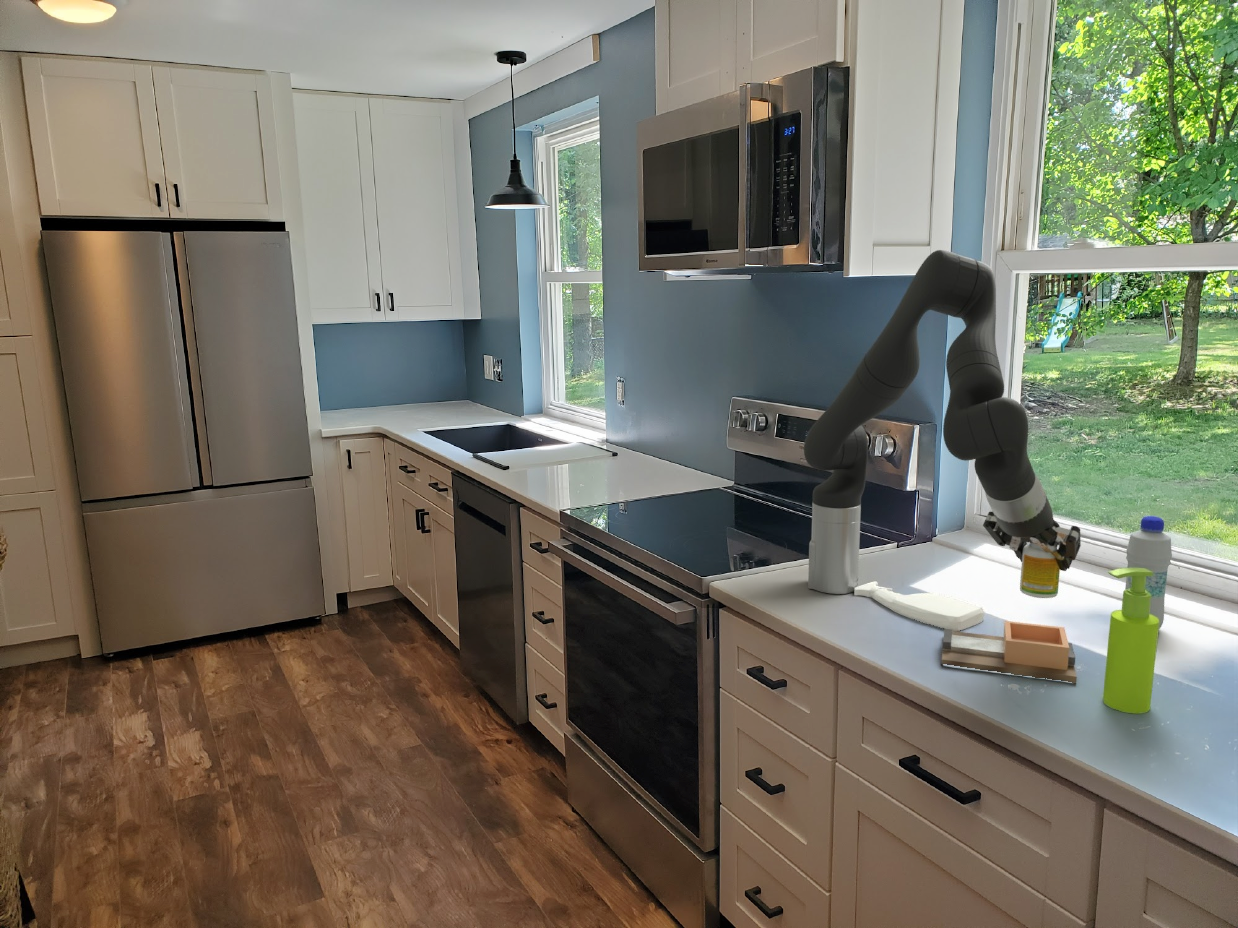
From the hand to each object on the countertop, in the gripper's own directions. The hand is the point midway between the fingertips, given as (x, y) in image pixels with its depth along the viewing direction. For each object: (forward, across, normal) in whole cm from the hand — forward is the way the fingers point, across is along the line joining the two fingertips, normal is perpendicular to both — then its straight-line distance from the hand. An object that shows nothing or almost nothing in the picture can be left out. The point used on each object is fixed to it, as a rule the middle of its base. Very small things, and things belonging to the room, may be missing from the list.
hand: (1045, 561), depth 140 cm
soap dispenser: (+7, -15, +17) cm, 23 cm away
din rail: (+8, +4, +13) cm, 16 cm away
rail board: (+9, +4, +14) cm, 17 cm away
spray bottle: (+17, +26, +6) cm, 32 cm away
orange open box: (+10, 0, +12) cm, 15 cm away
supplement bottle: (+2, 0, +5) cm, 5 cm away
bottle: (+30, -7, -7) cm, 31 cm away
